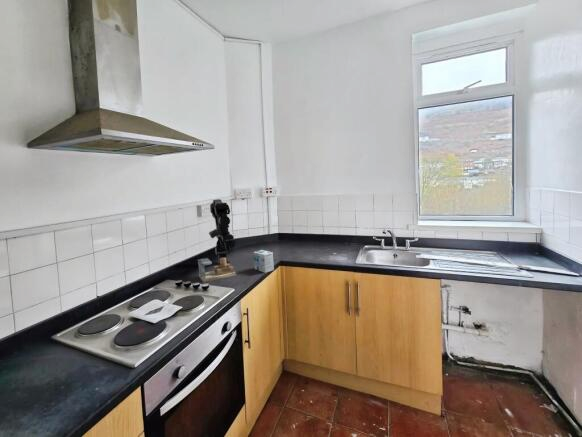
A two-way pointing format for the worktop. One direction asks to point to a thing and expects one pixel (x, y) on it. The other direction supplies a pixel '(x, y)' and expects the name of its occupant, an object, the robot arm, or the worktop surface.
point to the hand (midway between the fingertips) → (225, 249)
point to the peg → (223, 263)
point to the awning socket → (217, 272)
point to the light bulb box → (263, 261)
